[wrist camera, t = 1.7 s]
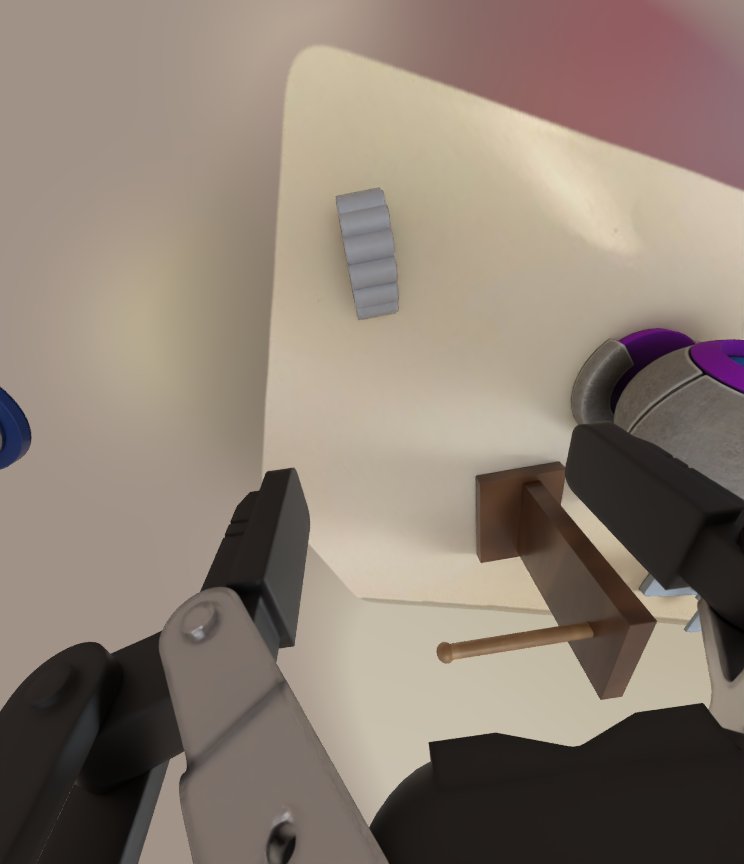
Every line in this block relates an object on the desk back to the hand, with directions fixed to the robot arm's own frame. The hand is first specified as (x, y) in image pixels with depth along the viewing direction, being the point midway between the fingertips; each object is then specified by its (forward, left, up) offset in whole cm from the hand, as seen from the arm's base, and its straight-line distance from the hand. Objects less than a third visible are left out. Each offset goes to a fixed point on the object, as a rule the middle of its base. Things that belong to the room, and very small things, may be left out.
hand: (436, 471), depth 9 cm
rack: (-5, -28, -23) cm, 36 cm away
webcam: (+17, -23, -23) cm, 36 cm away
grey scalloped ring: (+3, +4, -23) cm, 23 cm away
